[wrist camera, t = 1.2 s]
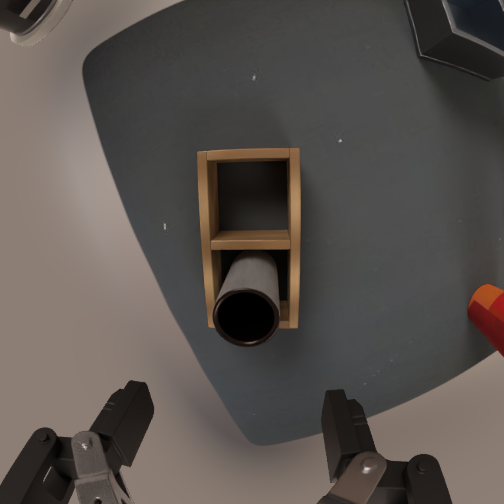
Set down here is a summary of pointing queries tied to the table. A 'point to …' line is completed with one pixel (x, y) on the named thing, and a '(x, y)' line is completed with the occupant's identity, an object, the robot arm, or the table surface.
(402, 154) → the table surface
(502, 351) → the paper cup
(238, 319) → the grey hollow cylinder
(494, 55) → the dark grey open box
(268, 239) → the wooden divided box
